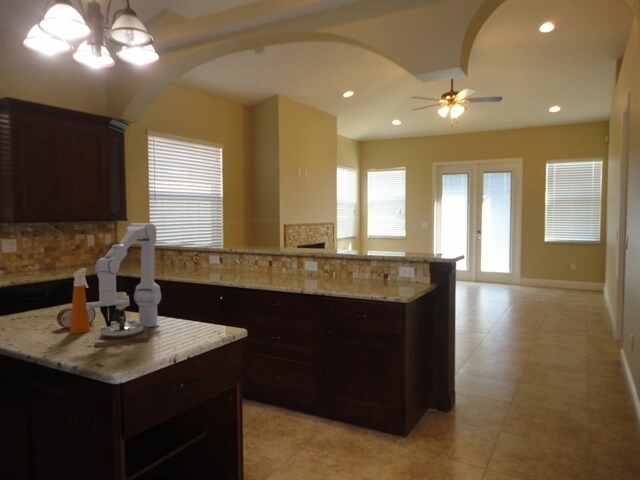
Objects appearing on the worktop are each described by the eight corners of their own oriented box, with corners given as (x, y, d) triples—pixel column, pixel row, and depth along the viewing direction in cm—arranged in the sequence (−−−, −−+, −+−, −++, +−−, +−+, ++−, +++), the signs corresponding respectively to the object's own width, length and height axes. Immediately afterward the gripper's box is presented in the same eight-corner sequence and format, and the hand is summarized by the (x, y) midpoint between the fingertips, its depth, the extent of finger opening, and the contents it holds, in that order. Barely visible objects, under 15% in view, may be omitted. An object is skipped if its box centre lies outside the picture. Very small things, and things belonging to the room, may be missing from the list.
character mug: (111, 326, 192) (111, 296, 191) (101, 324, 196) (100, 294, 195) (134, 321, 201) (133, 292, 200) (124, 319, 205) (123, 290, 204)
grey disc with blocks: (102, 330, 180) (101, 312, 180) (142, 326, 186) (142, 309, 185) (99, 340, 166) (99, 320, 166) (143, 335, 172) (143, 317, 172)
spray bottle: (79, 336, 177) (77, 269, 175) (67, 331, 184) (65, 267, 182) (98, 332, 183) (96, 267, 181) (85, 328, 189) (83, 265, 188)
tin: (93, 322, 200) (93, 303, 199) (96, 323, 198) (96, 304, 197) (56, 329, 188) (56, 309, 188) (59, 330, 186) (59, 310, 186)
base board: (98, 333, 181) (98, 329, 181) (146, 329, 188) (146, 325, 188) (95, 346, 165) (95, 342, 164) (148, 341, 171) (148, 336, 171)
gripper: (84, 293, 162) (86, 330, 163) (128, 290, 168) (129, 326, 169) (86, 290, 169) (87, 326, 169) (129, 287, 174) (129, 322, 175)
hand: (108, 326), depth 169 cm, fingers closed
